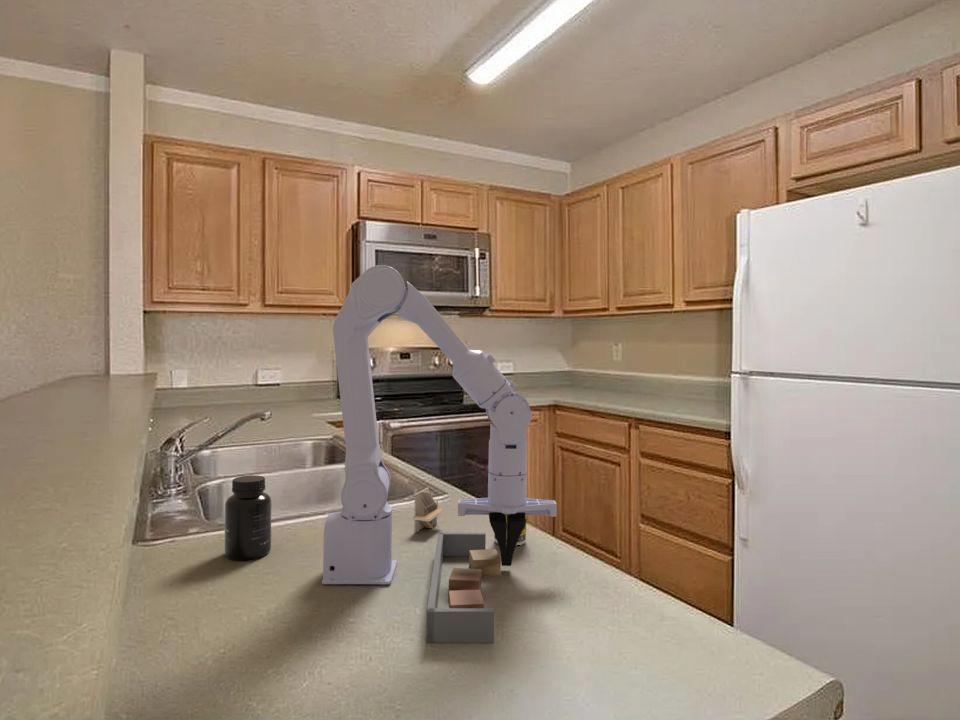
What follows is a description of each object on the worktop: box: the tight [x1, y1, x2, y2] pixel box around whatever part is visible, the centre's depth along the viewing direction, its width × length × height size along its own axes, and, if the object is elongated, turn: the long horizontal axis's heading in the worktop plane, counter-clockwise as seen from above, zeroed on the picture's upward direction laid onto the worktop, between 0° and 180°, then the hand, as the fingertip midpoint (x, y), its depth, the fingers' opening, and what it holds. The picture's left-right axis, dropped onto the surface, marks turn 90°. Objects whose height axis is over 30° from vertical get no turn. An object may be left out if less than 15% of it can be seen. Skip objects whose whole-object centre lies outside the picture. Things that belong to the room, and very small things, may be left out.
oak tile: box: [468, 548, 502, 578], centre depth 83 cm, size 4×4×2 cm
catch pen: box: [426, 532, 495, 644], centre depth 76 cm, size 8×27×4 cm, turn 2°
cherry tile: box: [448, 589, 485, 608], centre depth 69 cm, size 4×4×2 cm
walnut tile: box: [448, 567, 483, 592], centre depth 76 cm, size 4×4×2 cm
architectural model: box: [412, 487, 446, 534], centre depth 101 cm, size 3×7×7 cm, turn 160°
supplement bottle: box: [224, 474, 273, 562], centre depth 88 cm, size 7×7×12 cm
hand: (506, 563), depth 83 cm, fingers closed
